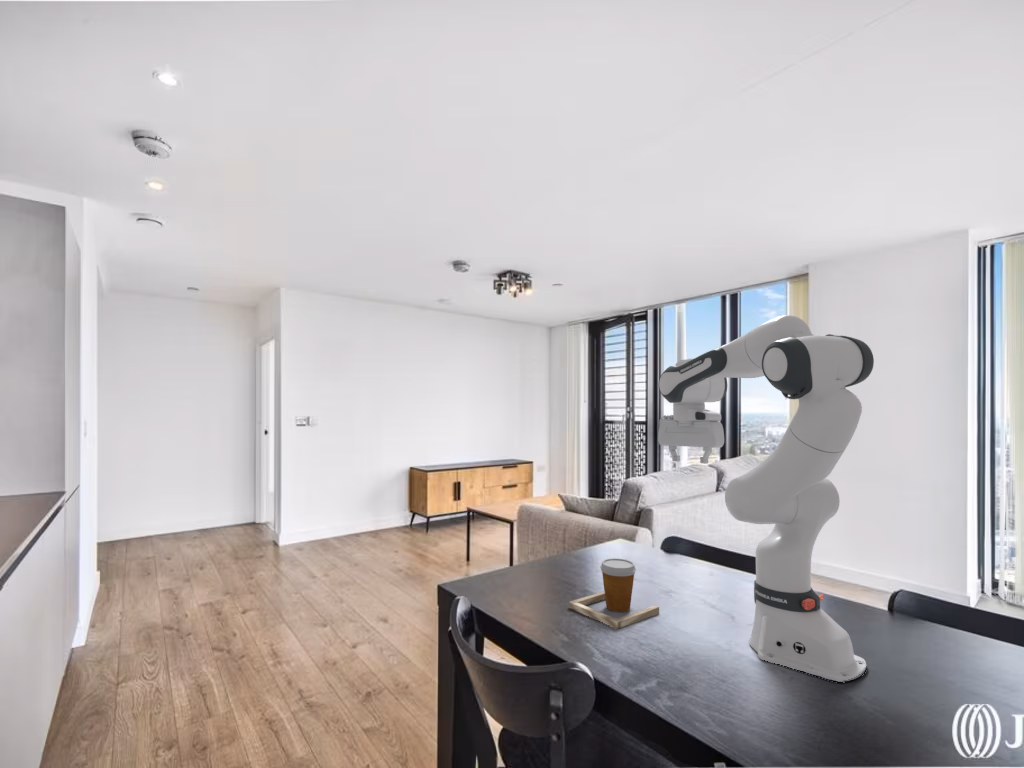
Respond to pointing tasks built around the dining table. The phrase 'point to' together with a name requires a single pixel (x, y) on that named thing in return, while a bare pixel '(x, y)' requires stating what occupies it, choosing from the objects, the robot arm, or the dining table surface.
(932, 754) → the dining table surface
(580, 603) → the cup bay
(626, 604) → the disposable coffee cup
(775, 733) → the dining table surface
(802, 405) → the robot arm
